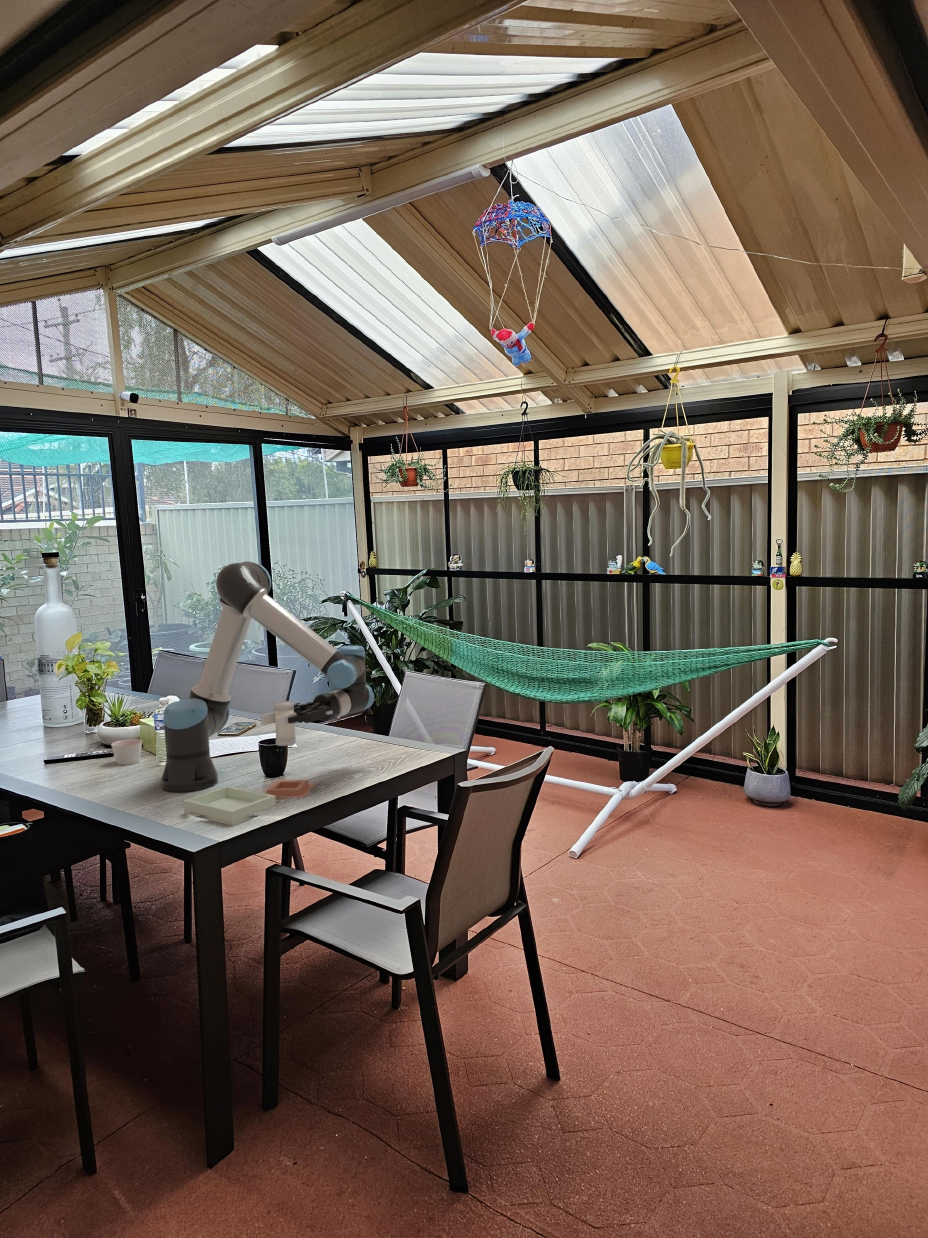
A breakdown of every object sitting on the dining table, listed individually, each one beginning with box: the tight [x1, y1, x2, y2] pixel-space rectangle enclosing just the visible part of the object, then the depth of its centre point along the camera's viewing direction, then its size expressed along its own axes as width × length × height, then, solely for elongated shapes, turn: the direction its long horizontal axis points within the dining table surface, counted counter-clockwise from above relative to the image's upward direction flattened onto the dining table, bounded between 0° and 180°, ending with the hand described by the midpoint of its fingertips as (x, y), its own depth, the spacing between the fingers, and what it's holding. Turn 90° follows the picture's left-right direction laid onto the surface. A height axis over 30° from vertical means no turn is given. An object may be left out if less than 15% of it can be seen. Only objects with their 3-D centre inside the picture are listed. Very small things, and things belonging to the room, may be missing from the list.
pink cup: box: [110, 738, 143, 766], centre depth 263 cm, size 9×9×6 cm
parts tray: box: [183, 785, 277, 826], centre depth 211 cm, size 18×14×4 cm
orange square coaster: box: [263, 779, 316, 799], centre depth 225 cm, size 12×12×2 cm
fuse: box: [273, 700, 297, 747], centre depth 223 cm, size 5×5×11 cm
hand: (269, 721), depth 218 cm, fingers closed on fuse, 5 cm apart
